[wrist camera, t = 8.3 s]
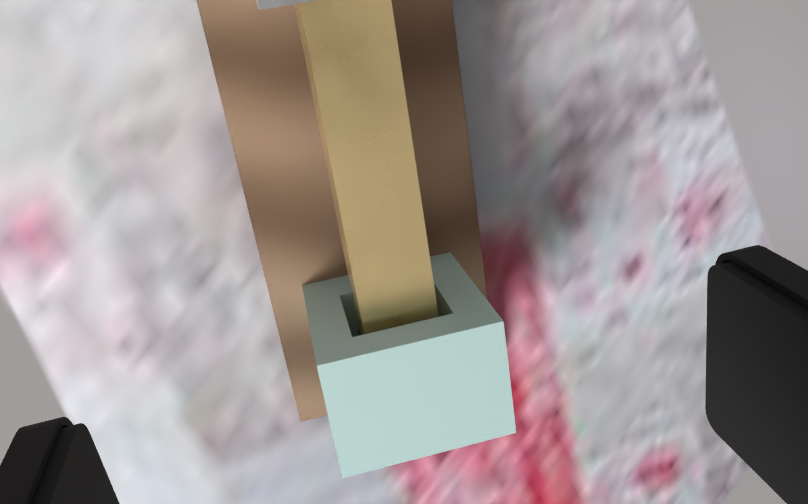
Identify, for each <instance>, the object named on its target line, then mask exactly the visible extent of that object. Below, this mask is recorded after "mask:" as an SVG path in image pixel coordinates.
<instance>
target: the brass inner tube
mask: <svg viewBox="0 0 808 504" xmlns="http://www.w3.org/2000/svg"><path fill="white" fill-rule="evenodd" d="M294 6H295V11H296V16H297V21H298V26H299V31H300V36H301V41H302V46H303V51H304V56H305V61H306V66H307V71H308V76H309V81H310V86H311V91H312V96H313V101H314V106H315V111H316V116H317V121H318V127H319V132H320V137H321V142H322V147H323V152H324V157H325V162H326V167H327V172H328V177H329V182H330V187H331V192H332V197H333V202H334V207H335V212H336V217H337V222H338V227H339V232H340V237H341V242H342V247H343V252H344V257H345V262H346V267H347V272H348V277H349V282H350V287H351V292H352V297H353V302H354V307H355V312H356V317H357V322H358V327H359V329H358V334H359V335H364V334H368V333H372V332H377V331H381V330H385V329H389V328H394V327H398V326H402V325H406V324H411V323H415V322H419V321H423V320H428V319H432V318H436V317H439V314H438V307H437V301H436V294H435V288H434V281H433V274H432V268H431V261H430V254H429V248H428V241H427V234H426V228H425V221H424V214H423V208H422V201H421V194H420V188H419V181H418V174H417V168H416V161H415V155H414V148H413V141H412V135H411V128H410V121H409V115H408V108H407V101H406V95H405V88H404V81H403V75H402V68H401V61H400V55H399V48H398V42H397V35H396V28H395V22H394V15H393V8H392V2H391V0H315V1H309V2H303V3H297V4H294Z"/></svg>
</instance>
